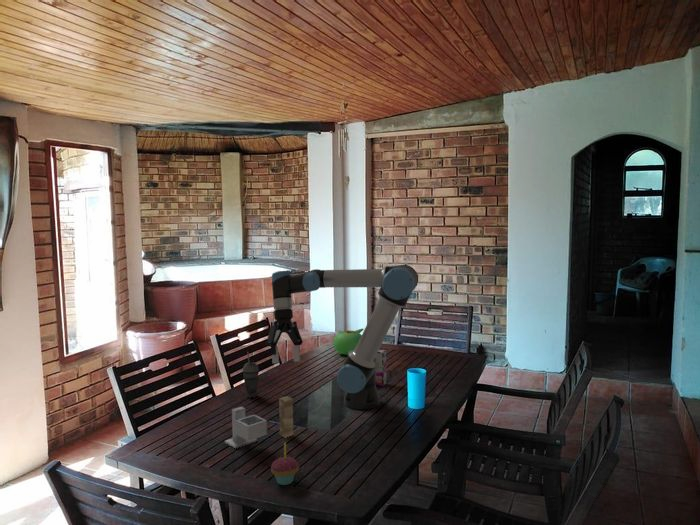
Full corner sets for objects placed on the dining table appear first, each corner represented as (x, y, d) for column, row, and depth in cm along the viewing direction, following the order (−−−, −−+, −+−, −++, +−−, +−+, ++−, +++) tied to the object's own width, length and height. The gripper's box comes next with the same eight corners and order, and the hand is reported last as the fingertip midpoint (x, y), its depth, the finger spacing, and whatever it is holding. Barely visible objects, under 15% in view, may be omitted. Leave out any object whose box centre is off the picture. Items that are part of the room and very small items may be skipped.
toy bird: (331, 357, 299) (330, 331, 297) (336, 349, 315) (336, 325, 314) (362, 358, 296) (362, 332, 294) (366, 351, 312) (366, 326, 311)
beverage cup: (255, 399, 232) (255, 354, 230) (240, 398, 233) (239, 354, 231) (262, 393, 239) (261, 350, 237) (246, 392, 240) (245, 349, 239)
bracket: (224, 442, 188) (223, 410, 187) (246, 435, 194) (245, 403, 193) (247, 456, 178) (246, 421, 177) (269, 447, 184) (268, 414, 183)
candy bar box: (386, 383, 253) (386, 349, 251) (383, 386, 248) (383, 352, 247) (364, 380, 257) (364, 347, 255) (361, 383, 252) (361, 350, 251)
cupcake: (272, 475, 165) (271, 437, 164) (299, 473, 166) (298, 436, 164) (270, 489, 156) (269, 450, 155) (299, 487, 157) (298, 449, 156)
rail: (279, 435, 194) (279, 398, 193) (287, 432, 196) (286, 396, 195) (285, 438, 192) (285, 400, 190) (293, 435, 194) (292, 398, 193)
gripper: (294, 311, 227) (298, 361, 223) (255, 309, 206) (258, 364, 202) (308, 309, 223) (312, 360, 219) (270, 307, 202) (273, 363, 198)
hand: (286, 362), depth 211 cm, fingers open, 13 cm apart
